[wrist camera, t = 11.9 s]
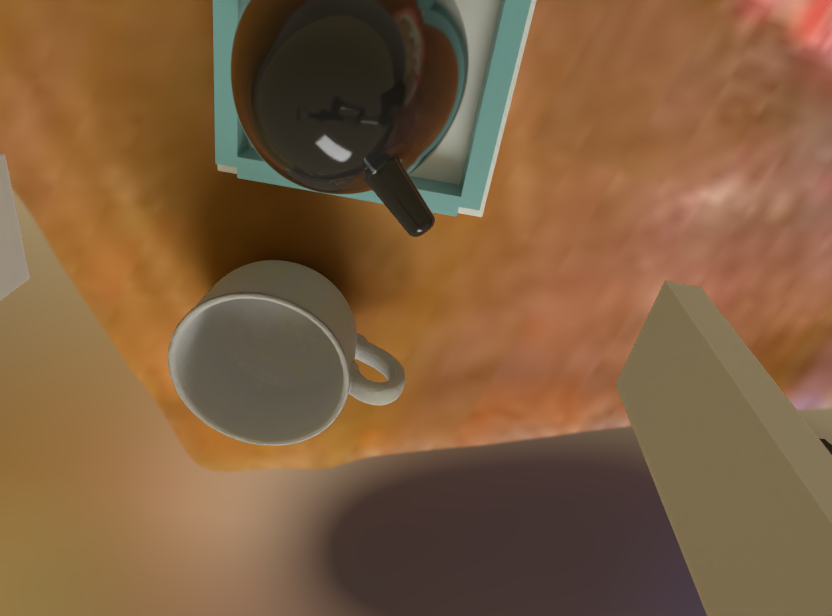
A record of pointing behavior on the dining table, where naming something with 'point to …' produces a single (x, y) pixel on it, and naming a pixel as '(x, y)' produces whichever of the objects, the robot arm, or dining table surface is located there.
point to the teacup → (275, 355)
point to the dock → (463, 145)
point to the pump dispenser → (351, 92)
